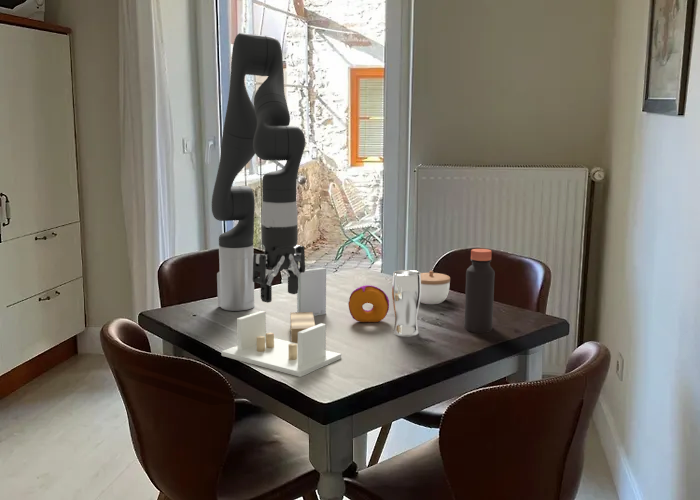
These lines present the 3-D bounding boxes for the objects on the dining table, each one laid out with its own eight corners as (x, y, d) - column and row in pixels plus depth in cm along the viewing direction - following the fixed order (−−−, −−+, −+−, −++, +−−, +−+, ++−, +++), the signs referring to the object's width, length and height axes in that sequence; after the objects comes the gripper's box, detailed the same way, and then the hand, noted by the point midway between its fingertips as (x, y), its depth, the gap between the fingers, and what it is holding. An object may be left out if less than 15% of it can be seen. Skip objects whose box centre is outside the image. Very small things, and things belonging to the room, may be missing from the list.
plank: (290, 327, 175) (290, 312, 174) (312, 327, 176) (312, 312, 175) (291, 345, 161) (291, 328, 161) (315, 344, 162) (315, 328, 161)
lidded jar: (455, 302, 200) (456, 269, 199) (439, 310, 191) (440, 276, 190) (421, 296, 206) (422, 265, 204) (404, 304, 197) (405, 271, 195)
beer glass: (400, 339, 165) (402, 277, 163) (385, 331, 172) (386, 271, 169) (425, 335, 169) (427, 274, 166) (410, 327, 175) (411, 268, 172)
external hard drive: (326, 314, 187) (326, 268, 184) (299, 318, 182) (299, 271, 180) (323, 312, 188) (323, 267, 186) (296, 317, 183) (296, 270, 181)
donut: (360, 317, 184) (360, 279, 182) (392, 322, 180) (392, 284, 178) (345, 324, 177) (345, 285, 176) (377, 330, 173) (378, 290, 171)
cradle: (221, 355, 153) (220, 320, 151) (264, 339, 164) (264, 306, 163) (300, 376, 141) (300, 338, 139) (341, 358, 152) (341, 322, 150)
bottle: (474, 324, 178) (478, 246, 174) (497, 330, 173) (501, 250, 170) (458, 329, 173) (461, 250, 170) (481, 335, 169) (484, 254, 165)
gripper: (287, 217, 155) (287, 288, 158) (242, 224, 143) (243, 301, 146) (314, 220, 151) (314, 293, 154) (270, 228, 139) (270, 307, 142)
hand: (279, 297), depth 150 cm, fingers open, 8 cm apart
